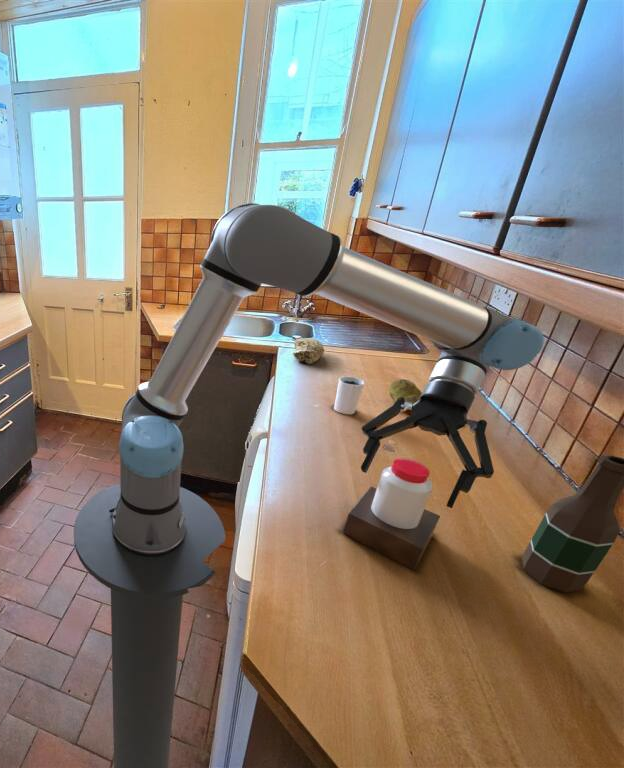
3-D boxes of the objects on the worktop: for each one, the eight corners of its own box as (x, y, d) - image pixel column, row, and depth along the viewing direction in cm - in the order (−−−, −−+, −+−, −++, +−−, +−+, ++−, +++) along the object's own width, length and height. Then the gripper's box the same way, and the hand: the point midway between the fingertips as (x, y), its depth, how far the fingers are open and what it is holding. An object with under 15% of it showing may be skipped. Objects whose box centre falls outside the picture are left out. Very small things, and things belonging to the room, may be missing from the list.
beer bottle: (588, 581, 69) (667, 465, 59) (572, 602, 66) (652, 483, 56) (528, 550, 75) (590, 441, 65) (511, 568, 72) (573, 455, 62)
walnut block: (342, 532, 80) (348, 513, 78) (365, 504, 87) (370, 486, 85) (414, 570, 72) (422, 549, 70) (432, 535, 79) (440, 515, 77)
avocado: (392, 414, 123) (400, 391, 120) (383, 397, 134) (390, 374, 130) (425, 419, 120) (433, 395, 117) (413, 401, 131) (420, 378, 128)
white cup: (330, 403, 130) (337, 375, 126) (354, 406, 128) (361, 377, 124) (333, 413, 124) (341, 383, 120) (358, 416, 122) (366, 386, 118)
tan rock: (317, 369, 159) (331, 346, 171) (316, 351, 156) (331, 329, 168) (283, 367, 168) (299, 345, 180) (281, 350, 165) (298, 329, 177)
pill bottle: (361, 503, 80) (375, 457, 76) (395, 498, 81) (411, 452, 77) (393, 532, 73) (410, 482, 69) (429, 526, 74) (449, 477, 70)
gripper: (537, 420, 71) (489, 527, 68) (379, 378, 88) (335, 463, 85) (547, 402, 66) (496, 518, 63) (376, 362, 83) (330, 452, 80)
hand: (403, 487), depth 74 cm, fingers open, 13 cm apart
